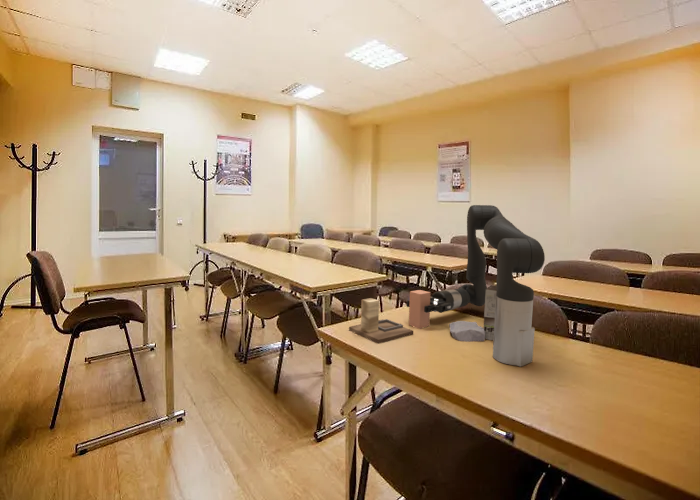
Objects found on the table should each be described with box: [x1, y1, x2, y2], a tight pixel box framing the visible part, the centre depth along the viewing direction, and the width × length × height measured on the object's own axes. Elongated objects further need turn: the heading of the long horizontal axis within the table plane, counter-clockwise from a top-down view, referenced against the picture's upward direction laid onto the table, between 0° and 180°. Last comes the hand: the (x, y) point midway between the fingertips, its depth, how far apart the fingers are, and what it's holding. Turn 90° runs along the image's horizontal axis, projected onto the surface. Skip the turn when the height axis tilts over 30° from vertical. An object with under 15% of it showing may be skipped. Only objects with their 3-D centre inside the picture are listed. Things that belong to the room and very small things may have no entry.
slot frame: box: [378, 318, 404, 332], centre depth 126 cm, size 8×8×1 cm
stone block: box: [448, 320, 486, 343], centre depth 122 cm, size 12×5×10 cm
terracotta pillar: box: [408, 289, 431, 329], centre depth 131 cm, size 5×5×12 cm
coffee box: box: [482, 284, 497, 341], centre depth 120 cm, size 9×6×16 cm
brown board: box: [348, 319, 414, 345], centre depth 124 cm, size 15×15×1 cm
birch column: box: [360, 297, 380, 333], centre depth 122 cm, size 4×4×10 cm
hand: (415, 306), depth 130 cm, fingers open, 8 cm apart
